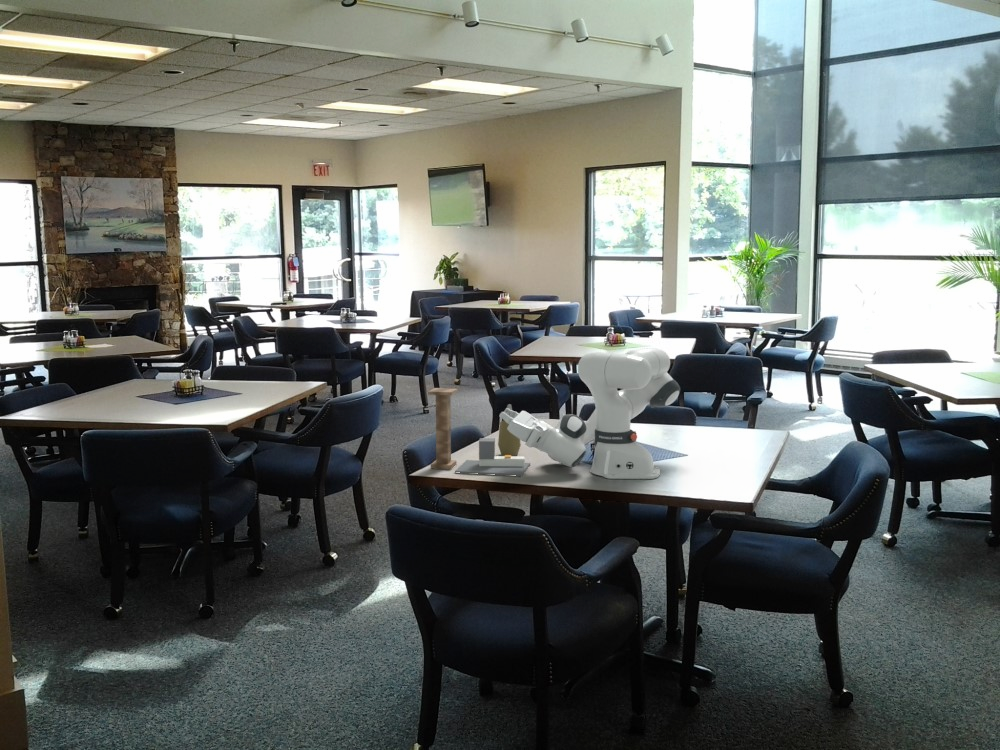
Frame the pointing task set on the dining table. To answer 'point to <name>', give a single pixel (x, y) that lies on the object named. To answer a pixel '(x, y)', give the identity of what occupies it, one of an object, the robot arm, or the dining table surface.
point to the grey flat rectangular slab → (491, 469)
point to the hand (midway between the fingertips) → (502, 411)
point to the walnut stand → (443, 428)
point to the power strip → (490, 459)
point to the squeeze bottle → (508, 439)
